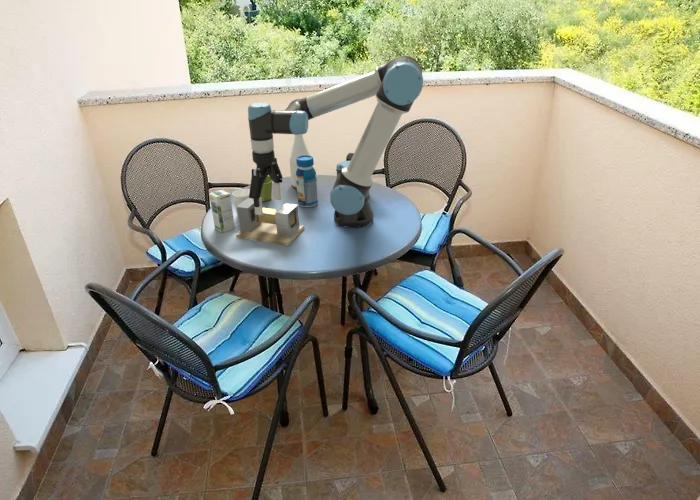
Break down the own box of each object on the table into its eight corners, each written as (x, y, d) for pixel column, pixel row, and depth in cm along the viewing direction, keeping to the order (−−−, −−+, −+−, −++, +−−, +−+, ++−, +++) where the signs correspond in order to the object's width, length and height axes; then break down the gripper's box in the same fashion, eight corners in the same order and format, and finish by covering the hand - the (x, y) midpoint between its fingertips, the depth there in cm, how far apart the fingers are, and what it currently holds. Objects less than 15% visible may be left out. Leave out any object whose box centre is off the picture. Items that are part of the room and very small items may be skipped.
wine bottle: (309, 189, 225) (304, 121, 210) (288, 188, 227) (282, 121, 212) (315, 181, 233) (311, 115, 218) (295, 180, 235) (290, 114, 220)
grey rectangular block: (299, 228, 189) (297, 204, 185) (289, 238, 183) (287, 214, 178) (287, 227, 191) (285, 203, 186) (277, 236, 185) (274, 212, 180)
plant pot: (266, 205, 212) (263, 185, 207) (248, 200, 216) (245, 181, 212) (279, 196, 219) (277, 177, 214) (262, 192, 223) (260, 174, 219)
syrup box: (214, 228, 194) (208, 193, 187) (227, 223, 198) (222, 188, 190) (222, 233, 191) (216, 197, 183) (235, 228, 194) (230, 192, 187)
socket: (261, 223, 194) (258, 199, 190) (250, 232, 188) (247, 208, 183) (251, 221, 196) (247, 198, 191) (240, 230, 189) (236, 206, 185)
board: (304, 228, 192) (304, 225, 192) (287, 245, 181) (287, 242, 180) (255, 221, 199) (254, 218, 198) (236, 237, 188) (235, 234, 187)
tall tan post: (295, 222, 186) (294, 211, 184) (290, 227, 183) (289, 216, 181) (261, 217, 191) (260, 206, 189) (255, 221, 187) (254, 211, 185)
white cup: (251, 220, 199) (248, 197, 194) (232, 219, 201) (229, 196, 196) (258, 212, 206) (255, 189, 201) (240, 211, 207) (237, 188, 202)
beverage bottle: (315, 208, 208) (312, 161, 198) (295, 207, 209) (291, 160, 199) (320, 200, 215) (317, 154, 205) (300, 199, 216) (297, 153, 206)
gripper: (270, 138, 185) (275, 192, 196) (233, 160, 165) (241, 219, 175) (289, 140, 183) (292, 194, 193) (254, 163, 163) (260, 222, 173)
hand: (268, 206), depth 184 cm, fingers open, 13 cm apart
